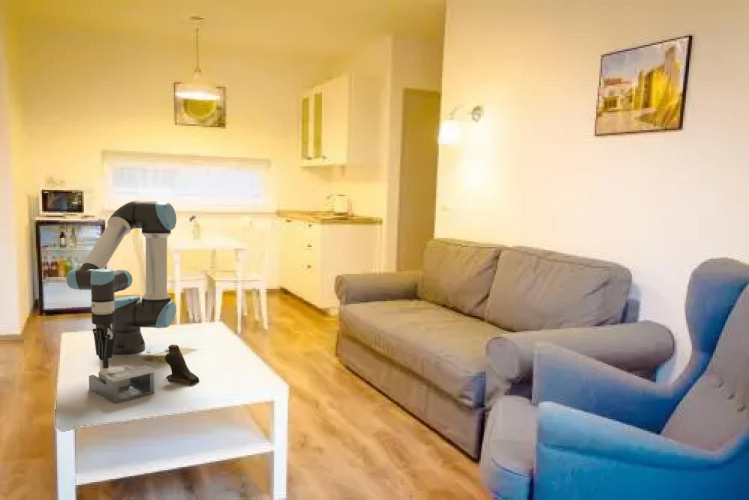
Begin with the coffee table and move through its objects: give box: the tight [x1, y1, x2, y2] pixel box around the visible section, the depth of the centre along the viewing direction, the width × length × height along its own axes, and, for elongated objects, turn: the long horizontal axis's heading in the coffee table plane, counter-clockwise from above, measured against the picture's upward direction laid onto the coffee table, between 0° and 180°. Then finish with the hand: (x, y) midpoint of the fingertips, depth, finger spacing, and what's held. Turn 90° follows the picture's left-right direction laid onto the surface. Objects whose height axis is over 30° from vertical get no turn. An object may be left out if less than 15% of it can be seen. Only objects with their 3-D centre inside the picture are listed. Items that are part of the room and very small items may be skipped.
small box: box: [98, 366, 130, 388], centre depth 205 cm, size 8×8×5 cm
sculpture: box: [164, 344, 200, 386], centre depth 214 cm, size 6×13×13 cm, turn 67°
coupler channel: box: [88, 365, 155, 405], centre depth 202 cm, size 19×14×9 cm
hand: (104, 375), depth 210 cm, fingers closed
